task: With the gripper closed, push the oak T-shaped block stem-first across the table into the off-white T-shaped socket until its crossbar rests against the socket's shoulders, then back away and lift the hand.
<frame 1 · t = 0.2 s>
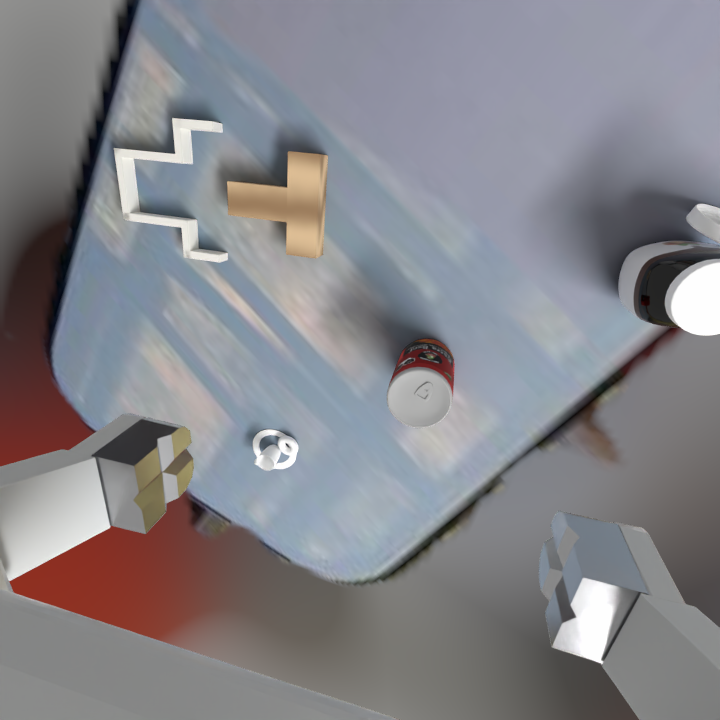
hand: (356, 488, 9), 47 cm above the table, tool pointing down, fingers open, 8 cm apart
canned food: (426, 362, 59), on the table
t socket: (178, 190, 57), on the table
white looped piece: (291, 456, 72), on the table
spread jar: (672, 256, 47), on the table
t block: (310, 205, 54), on the table
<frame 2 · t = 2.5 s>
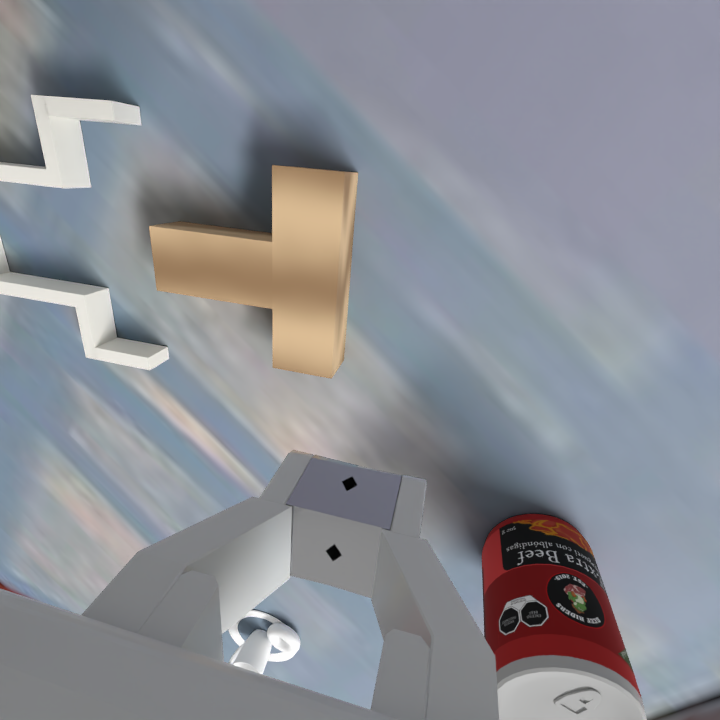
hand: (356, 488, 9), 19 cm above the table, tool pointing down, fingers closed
canned food: (533, 548, 32), on the table
t socket: (70, 236, 30), on the table
white looped piece: (288, 644, 45), on the table
t block: (320, 271, 27), on the table
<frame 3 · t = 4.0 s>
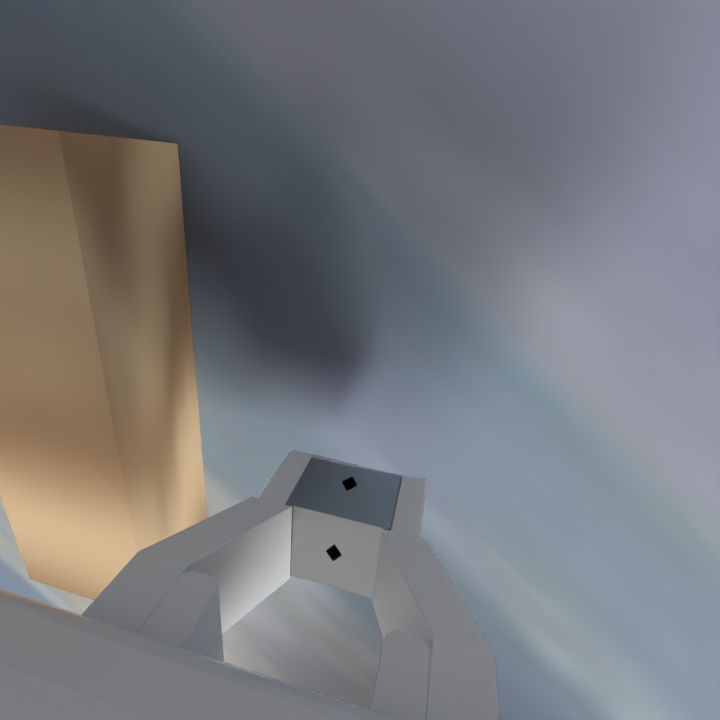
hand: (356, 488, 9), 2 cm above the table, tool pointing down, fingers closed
t block: (134, 368, 12), on the table
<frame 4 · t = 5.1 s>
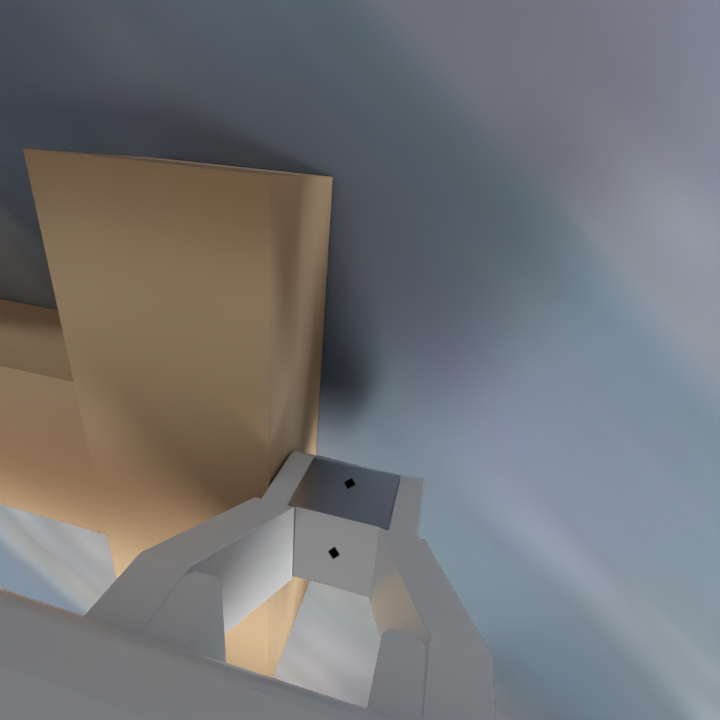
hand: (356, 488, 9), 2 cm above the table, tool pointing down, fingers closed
t block: (246, 413, 11), on the table, touching gripper
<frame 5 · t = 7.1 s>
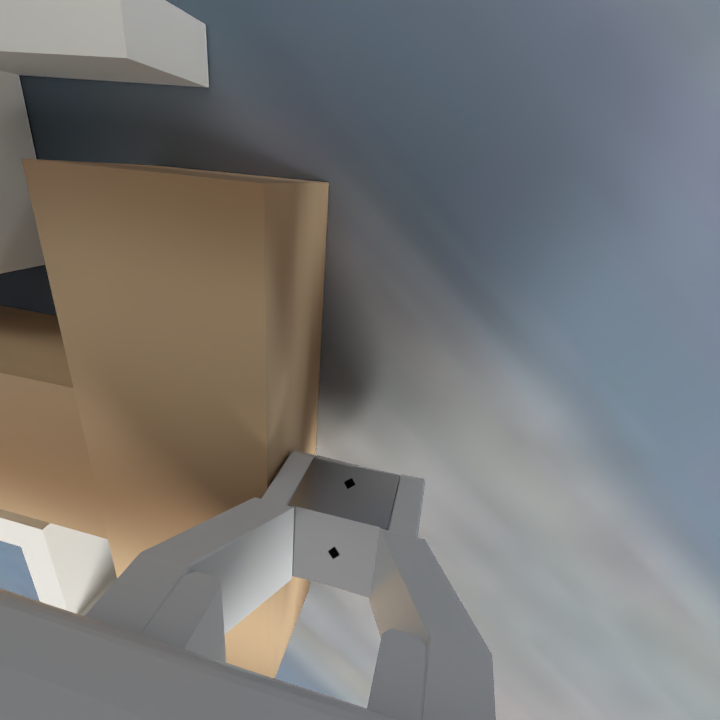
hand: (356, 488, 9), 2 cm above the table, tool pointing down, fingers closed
t socket: (12, 368, 12), on the table
t block: (245, 417, 11), on the table, touching gripper
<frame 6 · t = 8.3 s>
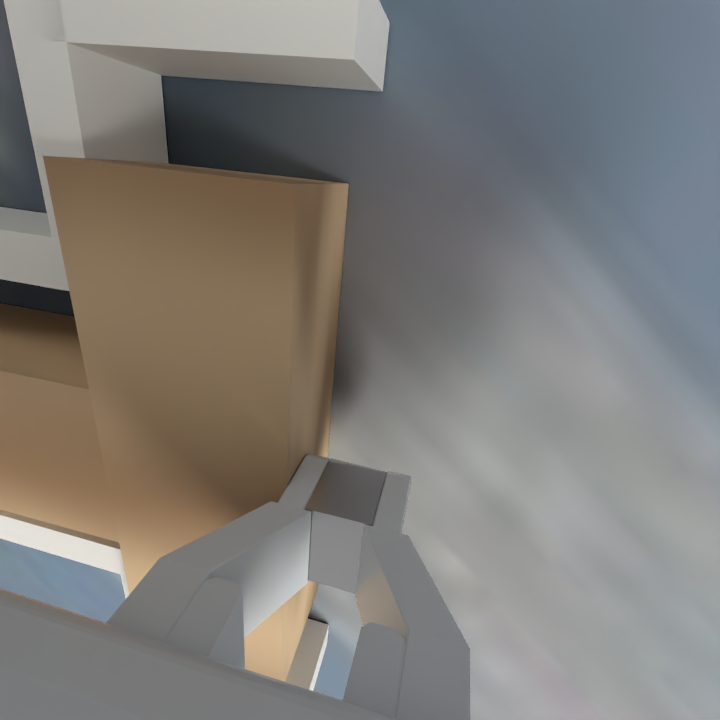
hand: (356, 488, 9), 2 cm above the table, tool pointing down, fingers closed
t socket: (109, 384, 12), on the table
t block: (257, 418, 11), on the table, touching gripper, t socket
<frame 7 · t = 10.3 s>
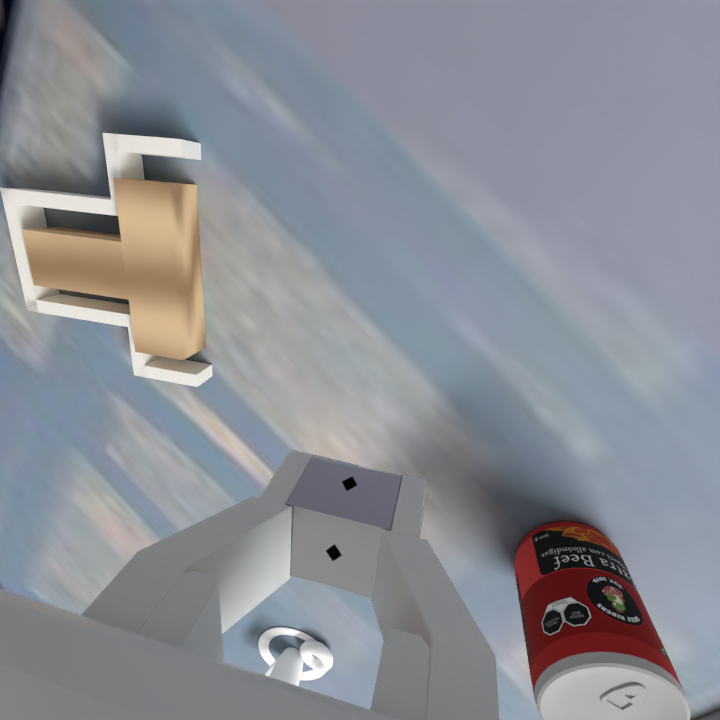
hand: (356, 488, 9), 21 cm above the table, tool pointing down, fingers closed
canned food: (563, 555, 33), on the table
t socket: (123, 260, 32), on the table
white looped piece: (319, 662, 45), on the table
t block: (177, 268, 31), on the table
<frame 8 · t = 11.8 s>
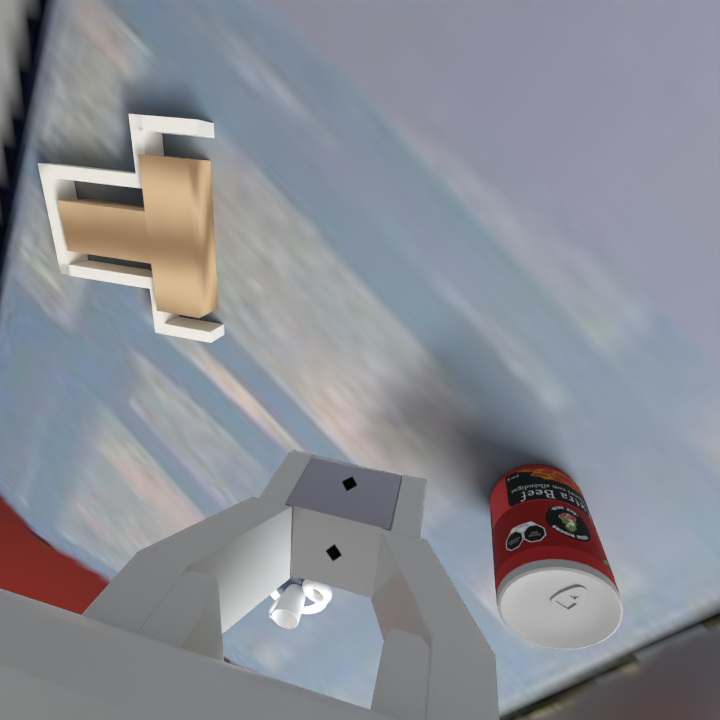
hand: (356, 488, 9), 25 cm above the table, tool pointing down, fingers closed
canned food: (533, 496, 38), on the table
t socket: (145, 229, 36), on the table
white looped piece: (319, 598, 51), on the table
t block: (193, 236, 35), on the table
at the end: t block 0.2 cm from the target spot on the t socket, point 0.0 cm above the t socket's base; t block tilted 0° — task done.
